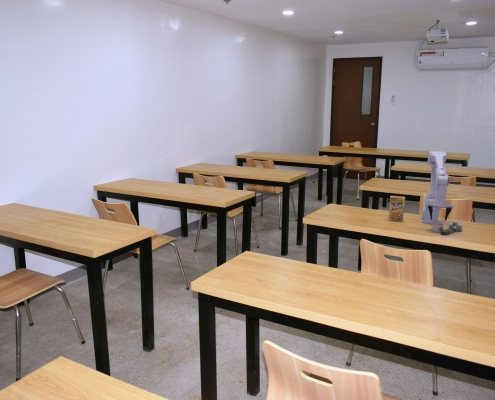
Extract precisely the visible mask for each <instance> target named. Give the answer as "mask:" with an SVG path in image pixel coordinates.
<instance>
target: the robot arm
mask: <svg viewBox="0 0 495 400" xmlns="http://www.w3.org/2000/svg"><path fill="white" fill-rule="evenodd" d="M427 155H428V156H427V164H428V166H430V169H431V170H430V188H429V189H430V190H429V192H428V193H427V194H426V195H425V196H424V204H423V205H424V207H423V208H422V210H421V216H420V222H421V223H425V224H430V225H432V223H433V220H435V221H439V216H440V215H439V214H440V210H441V209H445V216H444V221H447V219H448V217H449V215H450V213H451V212H452V209H453V210H454V209H455V208H454V207H455V204H450V203H449V204H448V203H447V194H448V186H449V185H450V176H449V174H448V172H447V168H446V167H445V166H444V165H445V164H446V161H447V158H448V153H447V151H435V150H434V151H431V150H429V151H428V153H427Z"/></svg>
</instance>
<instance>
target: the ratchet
mask: <svg viewBox="0 0 495 400" xmlns="http://www.w3.org/2000/svg"><path fill="white" fill-rule="evenodd" d="M459 223H460V222H459V221H455V220H454V221H452V224H448V228H447V229H443V230H442V231H441V232H439V233H440V234H439V235H441V236H443V237H444V236H445V237H446V236H449V235H451V234H453V233H460V232H463V231H462V230H463V226H462V225H460V224H459Z"/></svg>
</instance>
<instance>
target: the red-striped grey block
mask: <svg viewBox="0 0 495 400" xmlns="http://www.w3.org/2000/svg"><path fill="white" fill-rule="evenodd" d="M442 230H444V221H442V220H438V221H435V220H433V223H432V224H431V231H432V233H441V231H442Z"/></svg>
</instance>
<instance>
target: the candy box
mask: <svg viewBox="0 0 495 400" xmlns="http://www.w3.org/2000/svg"><path fill="white" fill-rule="evenodd" d="M405 202H406V197H405V196H397V195H390V197H389V205H388V207H389V208H388V218H387V220H388V221H393V222H399V223H400V222H401V223H403V221H404V215H405Z"/></svg>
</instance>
